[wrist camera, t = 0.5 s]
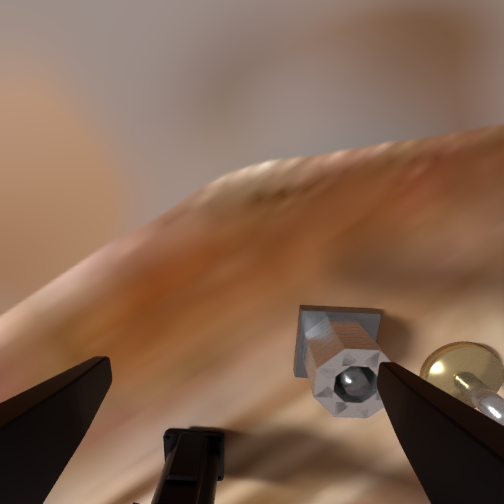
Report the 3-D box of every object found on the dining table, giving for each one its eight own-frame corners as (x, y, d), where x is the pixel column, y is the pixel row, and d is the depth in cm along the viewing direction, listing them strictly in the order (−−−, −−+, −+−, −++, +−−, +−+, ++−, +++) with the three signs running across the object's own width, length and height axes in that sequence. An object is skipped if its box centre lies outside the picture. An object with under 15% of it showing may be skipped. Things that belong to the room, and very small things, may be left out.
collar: (364, 376, 22) (389, 419, 18) (300, 373, 22) (311, 415, 18) (374, 319, 21) (405, 351, 16) (306, 315, 21) (319, 347, 16)
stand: (363, 372, 23) (395, 426, 18) (293, 369, 23) (304, 421, 18) (375, 308, 22) (414, 346, 16) (299, 305, 22) (313, 341, 16)
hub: (482, 403, 24) (539, 457, 19) (413, 400, 24) (453, 452, 19) (502, 343, 22) (571, 385, 17) (428, 340, 22) (476, 381, 17)
